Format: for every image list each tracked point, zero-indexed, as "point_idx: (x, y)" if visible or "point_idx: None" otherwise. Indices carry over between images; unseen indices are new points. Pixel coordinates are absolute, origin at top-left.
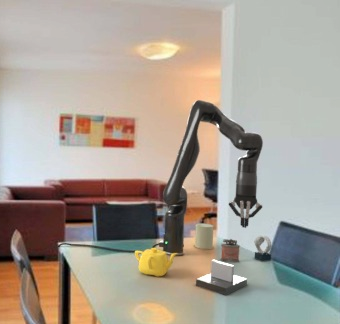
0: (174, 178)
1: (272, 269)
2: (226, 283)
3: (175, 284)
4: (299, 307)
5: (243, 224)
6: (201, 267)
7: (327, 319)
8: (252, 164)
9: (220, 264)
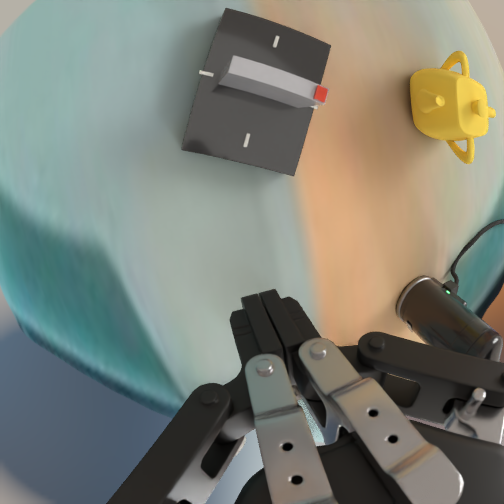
0: None
1: (164, 355)
2: (234, 50)
3: (366, 38)
4: (26, 78)
5: (271, 302)
6: (346, 233)
7: None
8: None
9: (286, 73)
